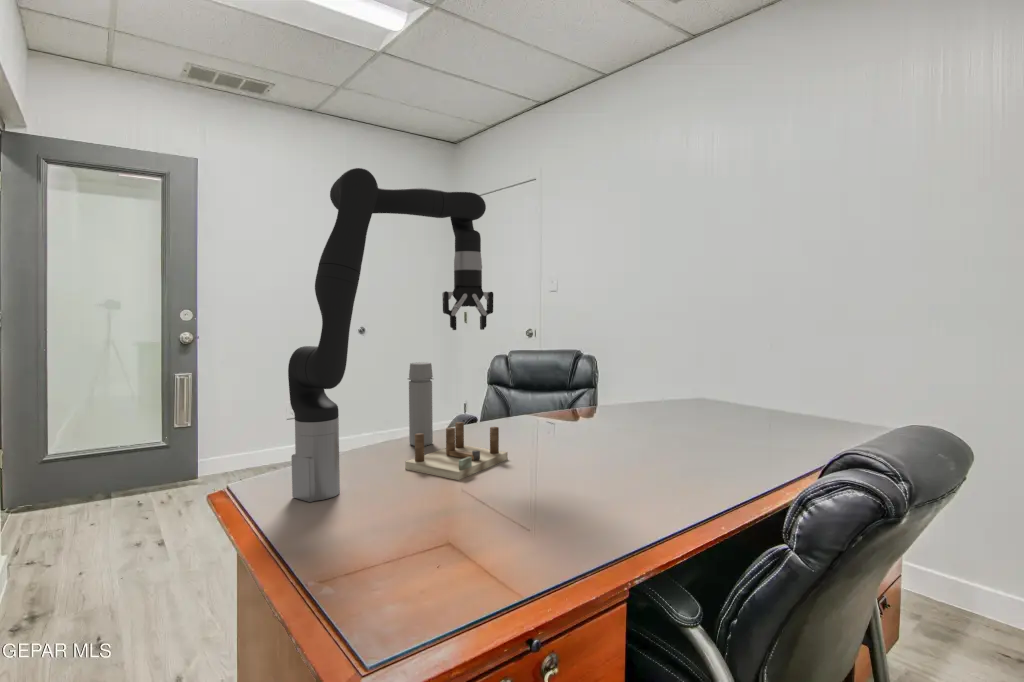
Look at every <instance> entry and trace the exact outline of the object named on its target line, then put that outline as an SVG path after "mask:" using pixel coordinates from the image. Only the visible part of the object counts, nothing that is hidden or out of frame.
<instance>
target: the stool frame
mask: <svg viewBox="0 0 1024 682" xmlns="http://www.w3.org/2000/svg"><path fill="white" fill-rule="evenodd" d="M454 423H455V427H454V428H455V449H456V450H462V451H467V452H472V451H474V450H478V451H480V459H479V460H472V457H466V458H461V457H455V456H450V455H446V447H444V448H442V449H441V448H440V449H439V450H436V451H432V452H429V453H427V454H425V446H424V434H423V433H417V434H415V446H414V458H412V459H409V460H406V461H404V462H405V467H404V469H405V470H408V471H413V472H418V473H422V474H428V475H431V476H437V477H442V478H446V479H451V480H457V481H460V480H463V479H465V478H467V477H470V476H472V475H474V474H476V473H479V472H481V471H483V470H486V469H488V468H490V467H493V466H495V465H498V464H500V463H503V462H505V461H507V460H508V458H509V457H508V454H509V453H508V451H502V450H500V449H499V447H500V446H499V445H500V444H499V443H500V441H499V437H500V436H499V433H500V431H499V428H500V427H499V426H491V427H489V448H484V447H478V446H471V445H467V444H465V440H464V439H465V427H464V425H465V422H464V421H457V422H454Z"/></svg>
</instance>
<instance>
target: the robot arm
mask: <svg viewBox="0 0 1024 682" xmlns="http://www.w3.org/2000/svg"><path fill="white" fill-rule="evenodd" d="M378 186H379V185H378V183H377V180H376V178H375V176H374V175H373V174H372V172H371V171H369V170H368V169H366V168H363V167H355V168H351V169H349V170H347V171H345V172H343V174H341V175H340V176H339V178H337V179H336V181H334V182H333V184H332V185H331V188H330V191H329V197H330V198H329V199H330V201H331V204H332V205H333V207H334V208H335V209H337V216H336V219H335V223H334V226H333V228H332V231H331V232H330V234H329V237H328V238H327V241H326V244H325V246H324V248H323V250H322V253H321V256H320V258H319V262H318V265H317V270H316V276H315V281H314V293H315V297H316V300H317V304H318V307H319V308H318V309H319V311H320V314H321V319H322V320H321V325H322V326H321V331H320V337H319V342H318V346H315V345H313V346H312V345H305V346H300V347H299V348H296V349H295V350H294V351H293V353H292V354H291V355H290V358H289V361H288V368H287V376H288V390H289V402H290V403H289V404H290V407H291V410H292V411H293V413H294V439H295V440H294V444H295V446H294V447H295V449H294V451H295V452H294V454H291V490H292V492H291V493H292V498H294V499H297V500H301V501H305V502H308V503H312V502H314V501H322V500H328V499H331V498H334V497H336V496H338V495H340V492H341V480H340V478H341V477H340V475H341V474H340V472H341V471H340V427H339V425H340V423H339V421H340V420H339V406H338V404H337V403H336V402H334V401H333V400H331V399H330V398H329V396H328V395H327V394H326V392H325V390H332V389H334V388H336V387H337V386H338V385H340V383H342V380H343V378H344V376H345V373H346V372H345V371H346V367H347V362H348V349H349V342H350V341H349V340H350V338H349V337H350V330H351V323H352V317H353V311H354V305H355V300H356V297H357V292H358V287H359V282H360V281H359V280H360V276H361V271H362V263H363V259H364V253H365V249H366V248H365V247H366V240H367V234H368V229H369V226H370V222H371V218H372V217H373V214H396V215H409V216H419V217H426V218H437V219H445V218H450V222H451V228H452V231H453V234H454V258H453V291H443V292H442V313H443V314H446V315H448V316H449V327H450V328H451V329H452V331H457V316H456V315H457V313H458V312H459V311H460V309H461V308H463V307H464V308H465V307H475V308H476V310H477V311H478V313H479V314H480V316H479V330H481V331H482V330H485V328H486V327H487V316H488V315H490V314H493V312H494V292H493V291H488V292H487V291H484V290H483V263H482V262H483V261H482V253H481V252H482V251H481V245H482V244H481V243H482V242H481V241H482V240H481V233H480V232H479V231H478V230H475V227H474V223H473V221H475V220H476V221H477V220H479V219H481V218H482V217H483V215H485V212H486V209H487V208H486V207H487V205H486V202H485V200H484V199H483V197H482V196H481V195H479V194H478V193H475V192H471V191H469V192H468V191H443V190H439V189H433V188H426V187H425V188H424V187H404V188H381V187H380V188H379V187H378ZM452 297H453V298H454V300H455V303H454V304H453V307H452V309H450V303H449V302H450V301H449V300H451V299H452ZM483 297H484V300H486V309H485V308H484V305H483V304H482V302H481V300H482V299H483Z"/></svg>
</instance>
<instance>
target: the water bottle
mask: <svg viewBox="0 0 1024 682" xmlns="http://www.w3.org/2000/svg"><path fill="white" fill-rule="evenodd" d="M433 377H434V376H433V367H432V363H431V362H429V361H426V362H425V361H421V362H420V361H419V362H410V363H409V371H408V378H407V380H408V410H409V411H408V413H409V415H408V418H409V419H408V422H409V423H408V425H409V430H408V431H409V445H411V446H414V447H415V434H417V433H423V434H424V447H427V445H428V446H430V445H431V444H432V443H433V440H434V439H433V380H434V378H433Z"/></svg>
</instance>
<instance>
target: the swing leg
mask: <svg viewBox="0 0 1024 682" xmlns="http://www.w3.org/2000/svg"><path fill="white" fill-rule="evenodd" d="M445 448H446V455H450V456H455V457H461V458H466V457H472V460H479V459H480V451H478V450H474V451H472V452H467V451H462V450H456V449H455V427H446V428H445Z"/></svg>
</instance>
